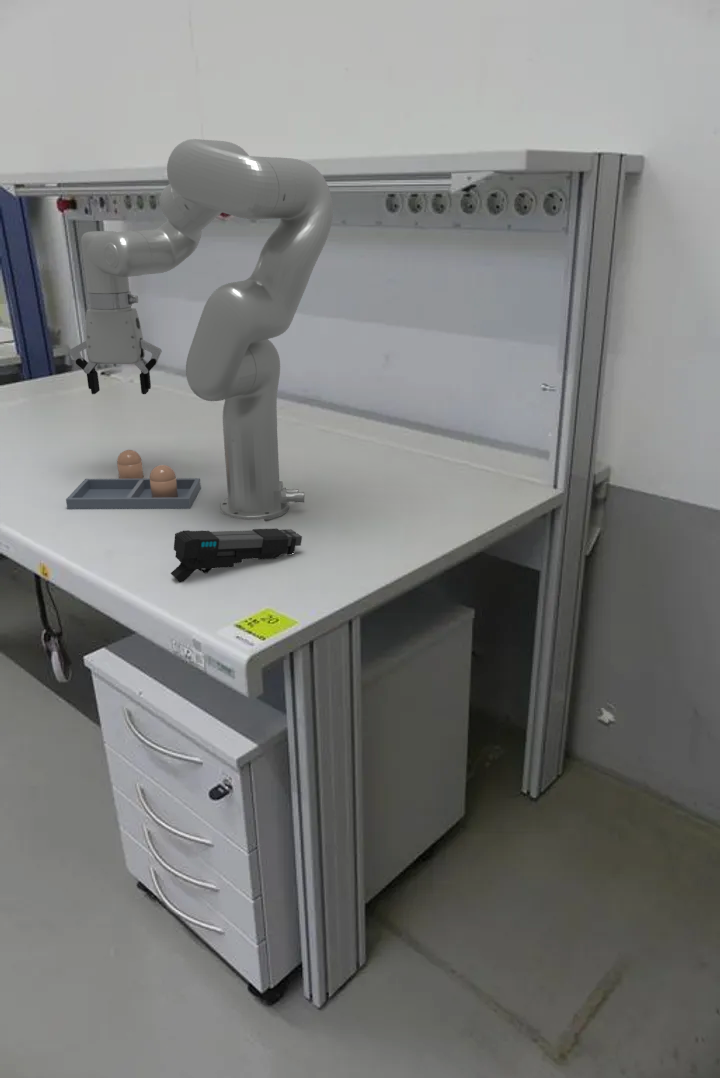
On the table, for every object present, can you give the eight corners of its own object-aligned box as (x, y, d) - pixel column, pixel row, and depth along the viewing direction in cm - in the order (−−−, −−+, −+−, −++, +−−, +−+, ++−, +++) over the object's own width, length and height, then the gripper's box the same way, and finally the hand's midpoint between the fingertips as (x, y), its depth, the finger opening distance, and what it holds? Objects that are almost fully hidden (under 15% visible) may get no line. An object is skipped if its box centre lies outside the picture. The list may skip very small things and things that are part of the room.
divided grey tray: (201, 490, 159) (200, 478, 158) (190, 511, 148) (188, 498, 147) (87, 490, 158) (85, 478, 157) (67, 512, 148) (65, 499, 147)
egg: (146, 476, 166) (142, 446, 164) (140, 484, 162) (137, 453, 159) (123, 476, 166) (119, 446, 164) (116, 484, 162) (112, 453, 159)
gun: (164, 575, 123) (179, 513, 121) (275, 584, 135) (291, 528, 133) (174, 586, 119) (190, 522, 117) (288, 595, 131) (304, 537, 129)
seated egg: (180, 493, 155) (177, 461, 153) (175, 502, 151) (171, 469, 148) (155, 493, 155) (151, 461, 153) (149, 502, 151) (145, 469, 148)
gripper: (160, 299, 154) (168, 388, 161) (69, 299, 154) (81, 388, 160) (151, 304, 147) (160, 397, 154) (56, 304, 147) (69, 397, 154)
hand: (120, 392), depth 157 cm, fingers open, 9 cm apart
